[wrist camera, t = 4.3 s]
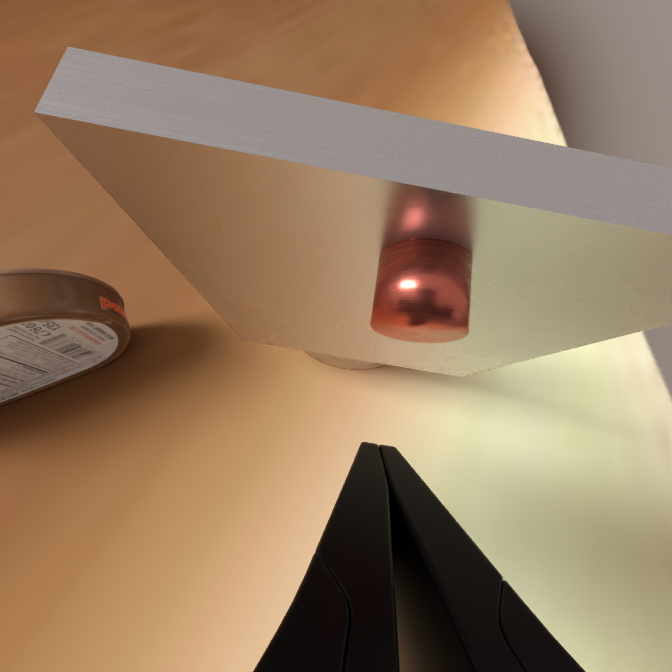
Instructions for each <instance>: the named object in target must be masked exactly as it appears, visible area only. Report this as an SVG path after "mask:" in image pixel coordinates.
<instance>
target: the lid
mask: <svg viewBox="0 0 672 672" xmlns="http://www.w3.org/2000/svg"><path fill="white" fill-rule="evenodd" d="M34 113H35V114H36V115H37V116H38V117H39V118H40V119H41V120H42V121H43V122H44V123H45V125H46V126H47V127H48V128H49V129H50V130H51V131H52V132H53V133H54V134H55V136H56V137H57V138H58V139H59V140H60V141H61V142H62V143H63V144H64V145H65V146H66V148H67V149H68V150H69V151H70V152H71V153H72V154H73V155H74V156H75V157H76V159H77V160H78V161H79V162H80V163H81V164H82V165H83V166H84V167H85V168H86V169H87V171H88V172H89V173H90V174H91V175H92V176H93V177H94V178H95V179H96V180H97V182H98V183H99V184H100V185H101V186H102V187H103V188H104V189H105V190H106V191H107V192H108V194H109V195H110V196H111V197H112V198H113V199H114V200H115V201H116V202H117V203H118V205H119V206H120V207H121V208H122V209H123V210H124V211H125V212H126V213H127V214H128V215H129V217H130V218H131V219H132V220H133V221H134V222H135V223H136V224H137V225H138V226H139V227H140V229H141V230H142V231H143V232H144V233H145V234H146V235H147V236H148V237H149V238H150V240H151V241H152V242H153V243H154V244H155V245H156V246H157V247H158V248H159V249H160V250H161V252H162V253H163V254H164V255H165V256H166V257H167V258H168V259H169V260H170V261H171V263H172V264H173V265H174V266H175V267H176V268H177V269H178V270H179V271H180V272H181V273H182V275H183V276H184V277H185V278H186V279H187V280H188V281H189V282H190V283H191V284H192V286H193V287H194V288H195V289H196V290H197V291H198V292H199V293H200V294H201V295H202V296H203V298H204V299H205V300H206V301H207V302H208V303H209V304H210V305H211V306H212V307H213V309H214V310H215V311H216V312H217V313H218V314H219V315H220V316H221V317H222V318H223V319H224V321H225V322H226V323H227V324H228V325H229V326H230V327H231V328H232V329H233V330H234V332H235V333H236V334H237V335H238V336H239V337H240V338H241V339H242V340H245V341H251V342H257V343H263V344H269V345H275V346H281V347H287V348H293V349H298V350H304V351H310V352H316V353H322V354H328V355H334V356H340V357H345V358H351V359H357V360H363V361H369V362H375V363H381V364H387V365H393V366H398V367H404V368H410V369H416V370H422V371H428V372H434V373H440V374H446V375H451V376H457V377H462V376H466V375H470V374H474V373H478V372H482V371H486V370H490V369H493V368H497V367H501V366H505V365H509V364H513V363H517V362H521V361H525V360H529V359H533V358H537V357H541V356H545V355H549V354H553V353H557V352H561V351H565V350H569V349H573V348H577V347H581V346H585V345H588V344H592V343H596V342H600V341H604V340H608V339H612V338H616V337H620V336H624V335H628V334H632V333H636V332H640V331H644V330H648V329H652V328H656V327H659V326H663V325H667V324H672V168H669V167H663V166H659V165H653V164H648V163H644V162H638V161H633V160H628V159H624V158H619V157H614V156H609V155H603V154H598V153H594V152H588V151H583V150H579V149H574V148H569V147H564V146H559V145H554V144H549V143H544V142H539V141H534V140H529V139H524V138H519V137H514V136H509V135H505V134H500V133H495V132H490V131H485V130H480V129H475V128H470V127H465V126H460V125H455V124H450V123H445V122H440V121H435V120H430V119H425V118H420V117H415V116H410V115H405V114H400V113H395V112H390V111H385V110H380V109H375V108H370V107H365V106H360V105H355V104H350V103H345V102H340V101H335V100H331V99H326V98H321V97H316V96H311V95H306V94H301V93H296V92H291V91H286V90H281V89H276V88H271V87H266V86H261V85H256V84H251V83H246V82H241V81H236V80H231V79H226V78H221V77H216V76H211V75H206V74H201V73H196V72H191V71H186V70H181V69H176V68H171V67H166V66H161V65H156V64H152V63H147V62H142V61H137V60H132V59H127V58H122V57H117V56H112V55H107V54H102V53H97V52H92V51H87V50H82V49H77V48H72V47H68V48H67V50H66V51H65V53H64V55H63V57H62V59H61V61H60V63H59V65H58V67H57V69H56V71H55V73H54V75H53V77H52V79H51V81H50V82H49V84H48V86H47V88H46V90H45V92H44V94H43V96H42V98H41V100H40V102H39V104H38V106H37V108H36V110H35V111H34Z"/></svg>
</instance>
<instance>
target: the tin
mask: <svg viewBox="0 0 672 672" xmlns="http://www.w3.org/2000/svg"><path fill="white" fill-rule="evenodd" d="M130 338H131V332H130V327H129V323H128V320H127V317H126V314H125V312H124V302H123V299H122V297H121V296H120V294H119V293H118V292H117V291H116V290H115V289H114V288H112V287H111V286H110V285H108V284H106V283H104V282H102V281H100V280H98V279H95V278H93V277H90V276H86V275H83V274H79V273H75V272H70V271H64V270H55V269H39V268H19V269H3V270H0V406H1V405H4V404H6V403H9V402H12V401H14V400H17V399H20V398H23V397H25V396H28V395H31V394H33V393H36V392H38V391H41V390H44V389H46V388H49V387H52V386H54V385H57V384H60V383H62V382H65V381H68V380H70V379H73V378H75V377H78V376H81V375H83V374H86V373H88V372H91V371H93V370H95V369H98V368H100V367H102V366H104V365H106V364H108V363H109V362H111V361H112V360H114V359H115V358H117V357H118V356H119V355H121V354H122V353H123V351H124V350H125V349H126V348H127V346H128V344H129V342H130Z"/></svg>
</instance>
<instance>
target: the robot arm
mask: <svg viewBox="0 0 672 672" xmlns="http://www.w3.org/2000/svg"><path fill="white" fill-rule="evenodd" d="M502 580H503V578H502V575H501V574H500V573H499V572H498V570H497V569H496V568H495V567H494V566H493V564H492V563H491V562H490V561H489V560H488V558H487V557H486V556H485V555H484V554H483V552H482V551H481V550H480V549H479V548H478V546H477V545H476V544H475V543H474V542H473V540H472V539H471V538H470V537H469V535H468V534H467V533H466V532H465V531H464V529H463V528H462V527H461V526H460V525H459V523H458V522H457V521H456V520H455V519H454V517H453V516H452V515H451V514H450V513H449V511H448V510H447V509H446V508H445V507H444V505H443V504H442V503H441V502H440V500H439V499H438V498H437V497H436V496H435V494H434V493H433V492H432V491H431V490H430V488H429V487H428V486H427V485H426V484H425V482H424V481H423V480H422V479H421V478H420V476H419V475H418V474H417V473H416V472H415V470H414V469H413V468H412V467H411V465H410V464H409V463H408V462H407V461H406V459H405V458H404V457H403V456H402V455H401V453H400V452H399V451H398V450H397V449H396V448H395V447H393V446H386V445H379V446H378V445H377V444H374V443H367V442H362V443H361V445H360V447H359V449H358V452H357V454H356V457H355V459H354V461H353V464H352V466H351V468H350V471H349V473H348V475H347V478H346V480H345V483H344V485H343V487H342V490H341V492H340V494H339V497H338V499H337V501H336V504H335V506H334V509H333V511H332V513H331V516H330V518H329V520H328V523H327V525H326V527H325V530H324V532H323V535H322V537H321V539H320V542H319V544H318V546H317V549H316V552H315V554H314V555H313V558H312V560H311V562H310V565H309V567H308V569H307V572H306V574H305V576H304V578H303V581H302V583H301V585H300V587H299V589H298V591H297V593H296V596H295V598H294V600H293V602H292V604H291V606H290V607H289V609H288V611H287V613H286V615H285V617H284V618H283V620H282V622H281V624H280V626H279V628H278V629H277V631H276V633H275V635H274V637H273V638H272V640H271V642H270V644H269V645H268V647H267V649H266V650H265V652H264V654H263V656H262V657H261V659H260V661H259V662H258V664H257V666H256V668H255V669H254V671H253V672H585V671H584V670H583V668H582V667H581V666H580V665H579V664H578V663H577V662H576V661H575V660H574V659H573V657H572V656H571V655H570V654H569V653H568V652H567V651H566V650H565V649H564V648H563V646H562V645H561V644H560V643H559V642H558V641H557V640H556V639H555V638H554V637H553V635H552V634H551V633H550V632H549V631H548V630H547V628H546V627H545V626H544V625H543V624H542V623H541V621H540V620H539V619H538V618H537V617H536V616H535V614H534V613H533V612H532V611H531V610H530V609H529V607H528V606H527V605H526V604H525V603H524V602H523V600H522V599H521V598H520V597H519V596H518V594H517V593H516V592H515V591H514V590H513V588H512V587H511V586H510V585H509V584H508V582H507V581H505V580H503V581H502Z"/></svg>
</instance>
